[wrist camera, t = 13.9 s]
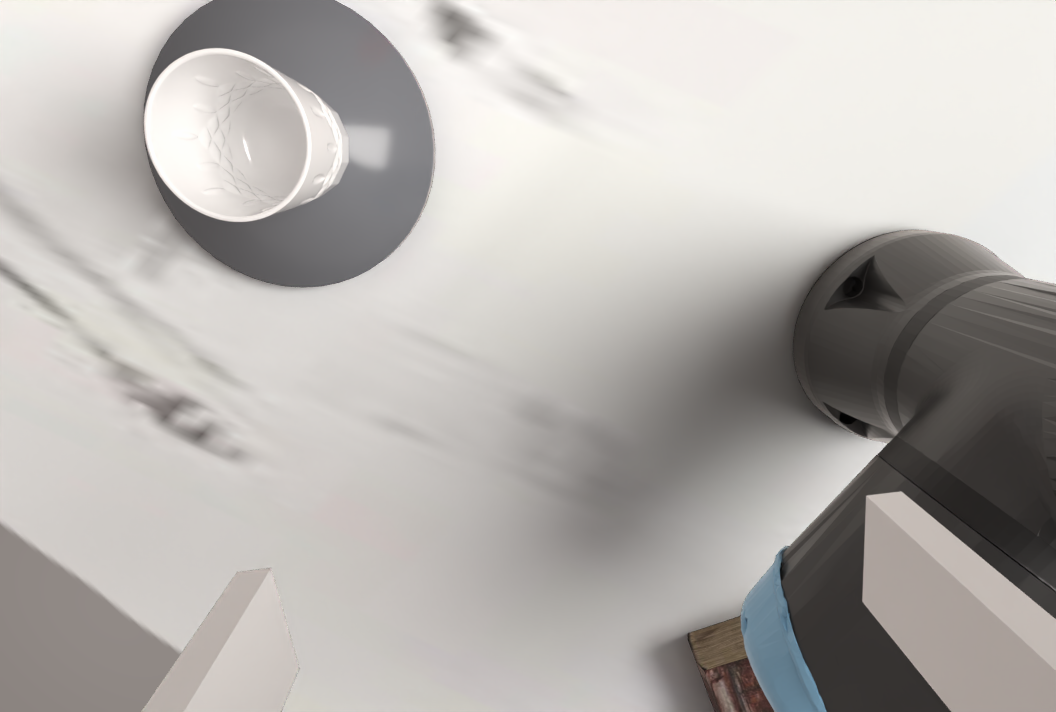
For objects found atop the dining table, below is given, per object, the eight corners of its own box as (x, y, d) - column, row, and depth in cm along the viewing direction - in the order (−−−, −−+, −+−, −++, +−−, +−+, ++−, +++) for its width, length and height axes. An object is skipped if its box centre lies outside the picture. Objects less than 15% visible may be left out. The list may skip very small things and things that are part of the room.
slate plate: (409, -26, 38) (405, -33, 37) (455, 266, 43) (453, 269, 42) (119, 13, 38) (104, 7, 37) (199, 298, 44) (189, 303, 42)
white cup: (304, 50, 38) (233, 10, 28) (384, 163, 40) (344, 160, 30) (206, 128, 39) (107, 114, 30) (289, 233, 41) (221, 253, 31)
